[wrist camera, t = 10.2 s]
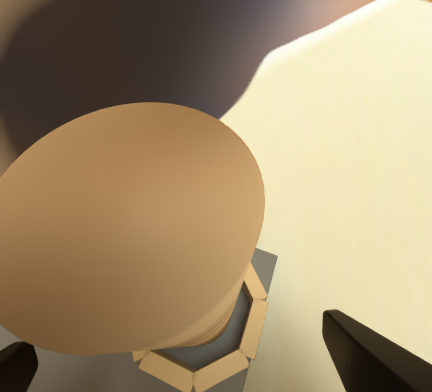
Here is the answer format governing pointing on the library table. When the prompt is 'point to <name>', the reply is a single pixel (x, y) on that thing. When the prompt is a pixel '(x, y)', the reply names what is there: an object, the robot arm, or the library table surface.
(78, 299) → the pin
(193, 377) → the board
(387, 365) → the robot arm
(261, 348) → the library table surface
